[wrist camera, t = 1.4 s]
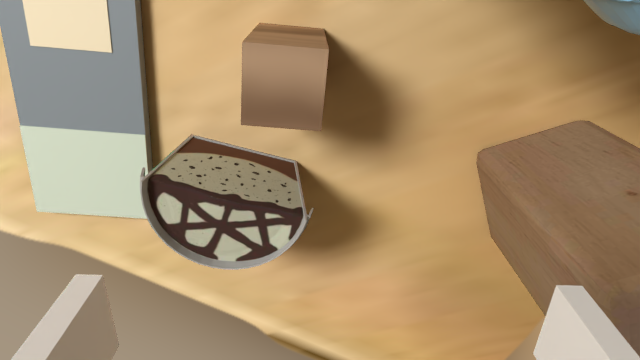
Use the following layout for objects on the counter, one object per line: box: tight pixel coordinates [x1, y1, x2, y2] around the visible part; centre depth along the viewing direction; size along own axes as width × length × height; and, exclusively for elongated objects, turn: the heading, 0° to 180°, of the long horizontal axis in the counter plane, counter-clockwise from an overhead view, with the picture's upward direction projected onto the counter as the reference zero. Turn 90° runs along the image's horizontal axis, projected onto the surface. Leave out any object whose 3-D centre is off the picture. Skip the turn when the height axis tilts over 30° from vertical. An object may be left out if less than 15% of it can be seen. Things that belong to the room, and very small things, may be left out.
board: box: [0, 0, 153, 219], centre depth 36 cm, size 21×10×1 cm, turn 175°
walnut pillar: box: [241, 23, 329, 131], centre depth 31 cm, size 5×5×10 cm
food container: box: [140, 134, 314, 269], centre depth 36 cm, size 12×6×10 cm, turn 74°
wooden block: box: [477, 121, 640, 357], centre depth 32 cm, size 10×10×20 cm
